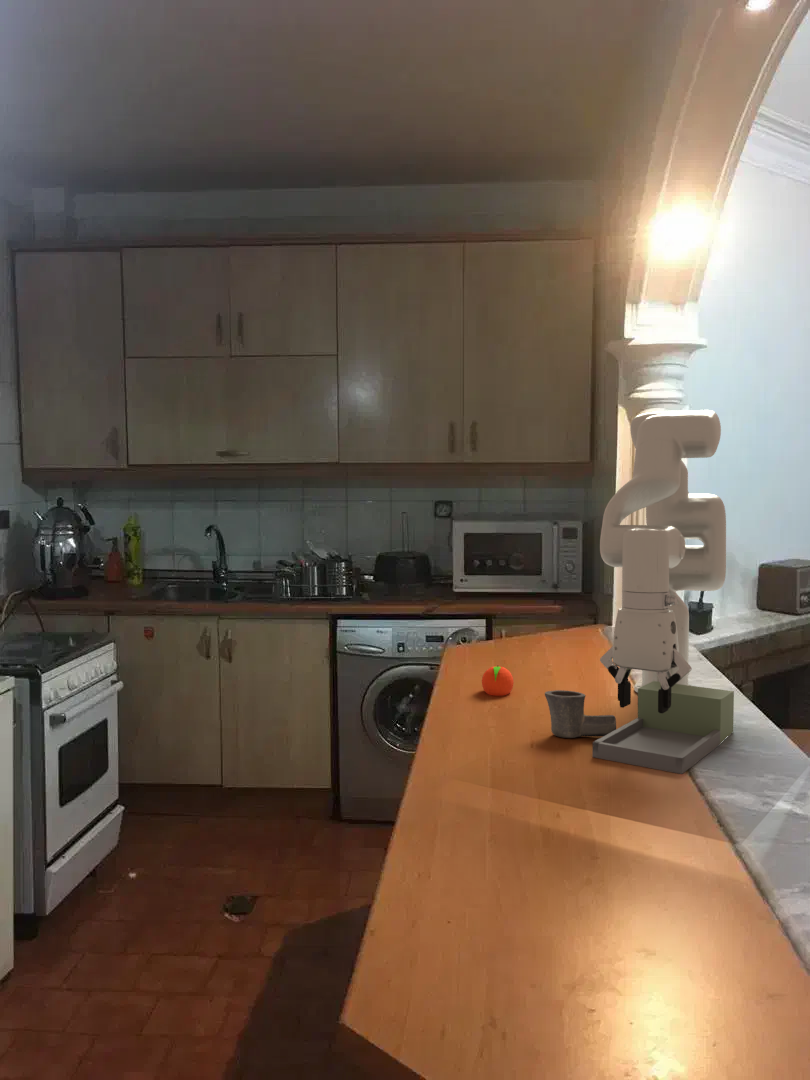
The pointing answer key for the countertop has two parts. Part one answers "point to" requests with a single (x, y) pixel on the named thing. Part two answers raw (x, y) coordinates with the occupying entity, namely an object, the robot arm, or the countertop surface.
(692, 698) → the gray tray
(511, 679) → the clementine
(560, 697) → the pipe
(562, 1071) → the countertop surface
